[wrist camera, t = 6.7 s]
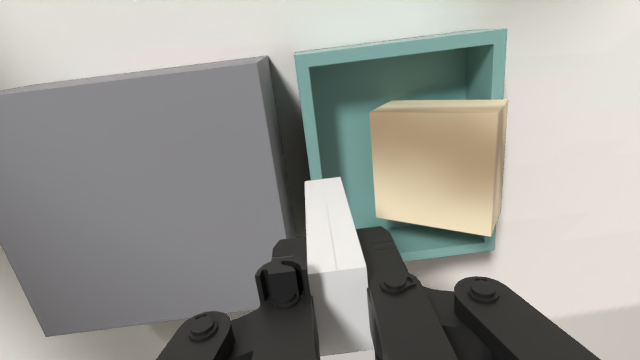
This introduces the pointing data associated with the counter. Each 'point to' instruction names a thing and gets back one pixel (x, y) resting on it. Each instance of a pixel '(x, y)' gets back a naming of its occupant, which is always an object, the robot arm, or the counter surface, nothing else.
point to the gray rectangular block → (142, 193)
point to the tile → (439, 162)
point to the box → (378, 89)
